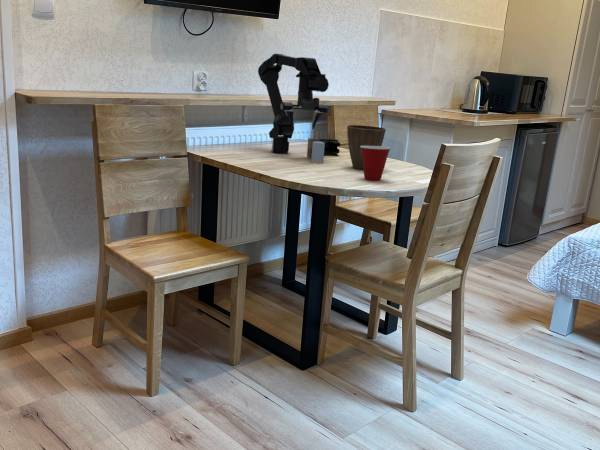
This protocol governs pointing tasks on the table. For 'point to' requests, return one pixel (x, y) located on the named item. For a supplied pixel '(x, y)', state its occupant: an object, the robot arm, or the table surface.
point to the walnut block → (310, 147)
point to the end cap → (330, 147)
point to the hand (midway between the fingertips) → (302, 128)
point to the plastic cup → (374, 161)
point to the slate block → (317, 152)
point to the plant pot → (362, 141)
